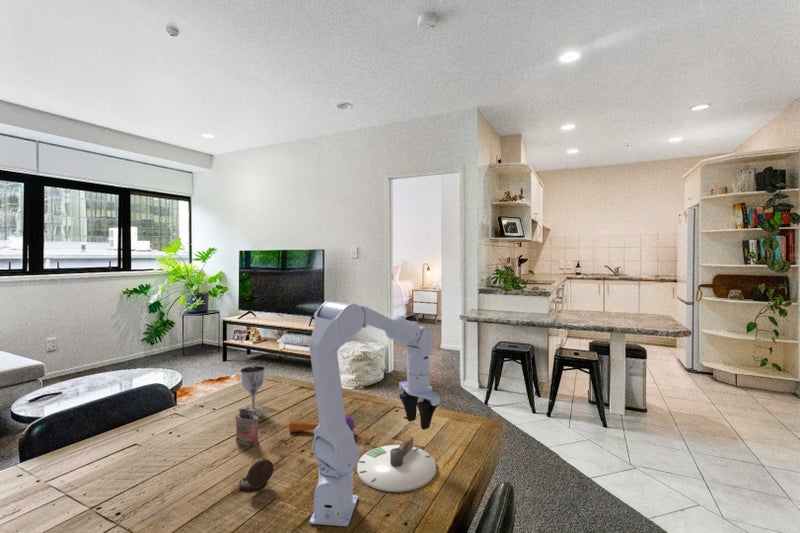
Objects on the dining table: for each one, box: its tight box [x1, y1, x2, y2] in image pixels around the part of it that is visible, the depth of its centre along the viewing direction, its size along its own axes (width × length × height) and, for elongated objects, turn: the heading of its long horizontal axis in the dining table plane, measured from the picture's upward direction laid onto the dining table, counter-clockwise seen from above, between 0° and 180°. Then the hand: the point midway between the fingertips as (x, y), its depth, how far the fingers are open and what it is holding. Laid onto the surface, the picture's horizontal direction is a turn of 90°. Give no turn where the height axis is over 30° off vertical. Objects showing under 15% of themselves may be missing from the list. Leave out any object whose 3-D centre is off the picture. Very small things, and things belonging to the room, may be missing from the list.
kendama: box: [288, 415, 355, 433], centre depth 117 cm, size 6×6×20 cm
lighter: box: [234, 406, 260, 447], centre depth 112 cm, size 8×3×10 cm, turn 62°
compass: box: [231, 457, 274, 491], centre depth 90 cm, size 8×8×7 cm
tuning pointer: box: [390, 435, 414, 466], centre depth 101 cm, size 11×3×3 cm, turn 153°
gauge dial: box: [356, 444, 437, 493], centre depth 98 cm, size 20×20×1 cm
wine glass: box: [240, 365, 266, 416], centre depth 134 cm, size 8×8×15 cm
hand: (418, 424), depth 100 cm, fingers open, 5 cm apart
